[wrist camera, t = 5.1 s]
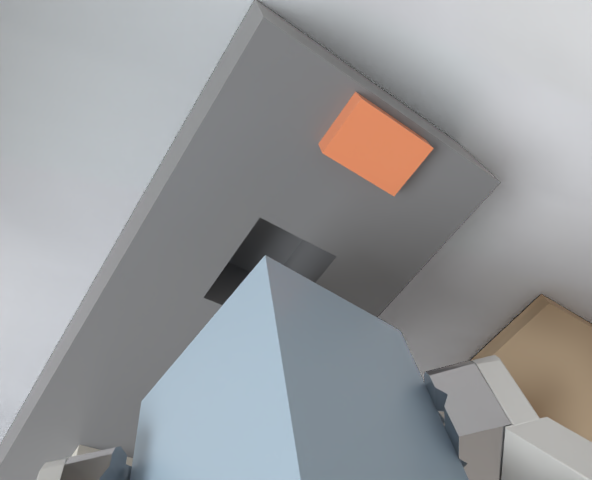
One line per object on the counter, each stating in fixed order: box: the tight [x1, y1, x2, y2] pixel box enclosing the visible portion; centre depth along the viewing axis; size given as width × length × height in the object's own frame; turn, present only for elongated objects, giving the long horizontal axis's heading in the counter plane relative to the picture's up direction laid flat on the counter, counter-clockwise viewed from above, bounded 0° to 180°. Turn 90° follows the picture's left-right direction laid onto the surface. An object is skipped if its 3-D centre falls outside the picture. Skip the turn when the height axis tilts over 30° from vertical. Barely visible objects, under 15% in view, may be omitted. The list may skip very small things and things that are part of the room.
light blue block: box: [130, 255, 469, 480], centre depth 11 cm, size 5×4×7 cm
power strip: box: [0, 0, 500, 480], centre depth 18 cm, size 22×8×4 cm, turn 146°
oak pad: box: [470, 294, 592, 442], centre depth 26 cm, size 14×12×1 cm
